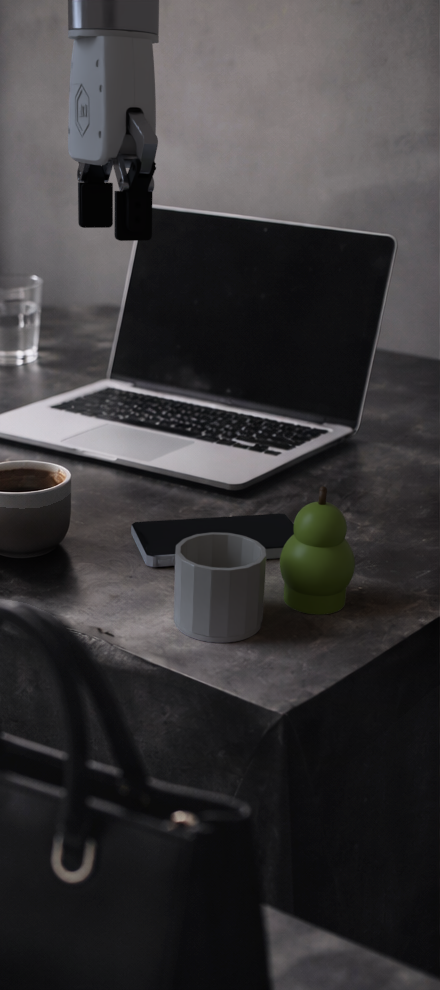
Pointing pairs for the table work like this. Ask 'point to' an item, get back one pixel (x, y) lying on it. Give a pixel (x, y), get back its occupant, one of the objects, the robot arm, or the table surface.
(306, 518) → the pear
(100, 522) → the table surface
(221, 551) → the grey faceted cup
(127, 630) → the table surface
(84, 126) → the robot arm
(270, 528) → the smartphone
